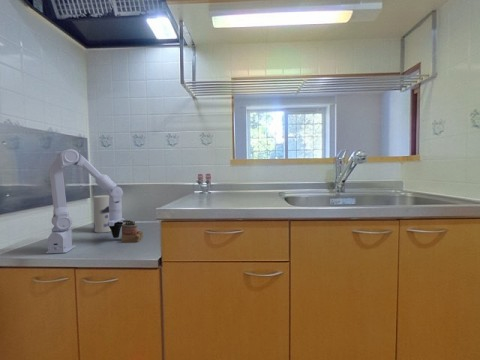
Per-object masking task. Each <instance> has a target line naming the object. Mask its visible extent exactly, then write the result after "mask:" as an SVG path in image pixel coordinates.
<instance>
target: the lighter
mask: <svg viewBox="0 0 480 360" xmlns="http://www.w3.org/2000/svg"><path fill="white" fill-rule="evenodd" d="M122 222H123V224H122V226H121V237H122V236H133V235H137V231H138V224H136V220H132V219H129V220H128V219H125V220H123V221H122Z"/></svg>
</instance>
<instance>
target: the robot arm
mask: <svg viewBox="0 0 480 360" xmlns="http://www.w3.org/2000/svg"><path fill="white" fill-rule="evenodd" d="M72 165H73V166H76V167H80V168H82V169H83V170H85V172H87V174H89V175H90V176H92V177H93V178H94V179H95V183H96V185H98V186H99V187H100V188H101V189H102V190H103V191H104V192H105V193H106V194H107V195H109V224H108V226H109V227H110V229H111V231H110V232H111V235H112V238H113V239H114V238H115V239H117V238H119V237H120V234H121V233H120V232H121V230H122V225H123V224H124V223H123V220H126V219H125V218H123V207H122V206H123V203H122V200H123V199H122V197H123V195H124V191H123V188H122V187H121V186H118V183H116V182H114V181H113V180H112V179H111V178H110V177H111V176H110V175H108V174H106V173H105V174H102V173H101V172H99V170H98V169H96V168H95V166H94V165H92V163H90V162H89V161H88V159H87V158H85V157H84V156H83V155H82V154H81V153H80V154H79V152H78V151H77V150H76V149H73V148H70V149H69V148H68V149H65V150H62V151H60V152H59V153H58V154H56V156H55V157H54V159H53V161H51V164H50V165H49V167H48V171H49V173H48V174H49V179H50V180H49V181H50V190H51V197H52V204H53V205H52V206H53V207H52V208H53V210H52V211H53V212H52V213H53V215H52V218H51V223H52V225H53V227H52V228H51V233H50V234H49V236H48V238H47V251H46V252H45V255H46V254H64V253H68V252H70V251H71V250H73V249H74V248H76V247H77V245H76V244H75V245H74V244H73V230H72V229H73V228H72V225H73V219H72V218H71V217H70V216H69V215H70V214H69V210H68V205H67V198H66V187H65V180H64V171H65V170H67V168H69V167H70V166H72Z"/></svg>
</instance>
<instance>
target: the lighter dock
mask: <svg viewBox="0 0 480 360" xmlns="http://www.w3.org/2000/svg"><path fill="white" fill-rule="evenodd" d="M143 237H144V231H143V230H140V231H139V230H137V235H133V236H122V235H121V243H124V244H126V243H127V244H128V243H129V244H130V243H139V242H140V241H141V240H142V239H143Z"/></svg>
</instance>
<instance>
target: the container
mask: <svg viewBox="0 0 480 360" xmlns="http://www.w3.org/2000/svg"><path fill="white" fill-rule="evenodd" d="M92 198H93V232H94V233H97V234H98V233H99V234H100V233H101V234H102V233H110V232H112V231H111V229H110V227H109V226H108V224H109V195H93V197H92Z"/></svg>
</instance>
